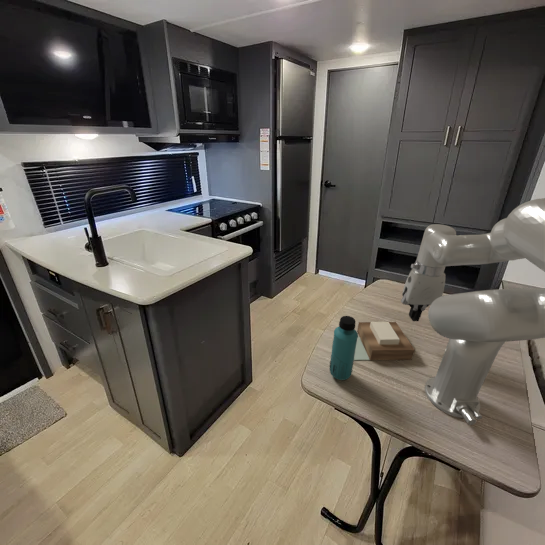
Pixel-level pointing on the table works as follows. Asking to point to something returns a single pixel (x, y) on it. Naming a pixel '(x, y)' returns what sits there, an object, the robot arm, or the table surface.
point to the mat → (360, 351)
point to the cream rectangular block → (384, 333)
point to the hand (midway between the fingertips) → (413, 318)
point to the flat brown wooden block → (385, 351)
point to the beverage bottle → (343, 348)
